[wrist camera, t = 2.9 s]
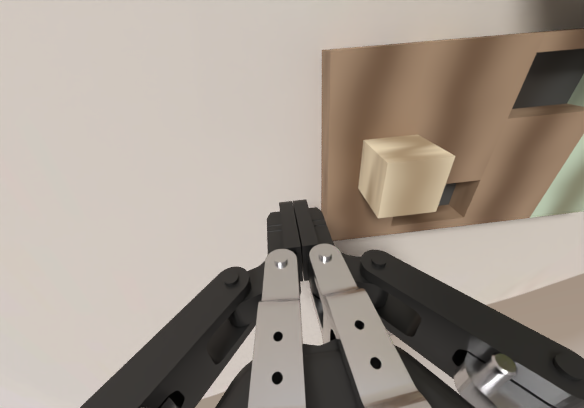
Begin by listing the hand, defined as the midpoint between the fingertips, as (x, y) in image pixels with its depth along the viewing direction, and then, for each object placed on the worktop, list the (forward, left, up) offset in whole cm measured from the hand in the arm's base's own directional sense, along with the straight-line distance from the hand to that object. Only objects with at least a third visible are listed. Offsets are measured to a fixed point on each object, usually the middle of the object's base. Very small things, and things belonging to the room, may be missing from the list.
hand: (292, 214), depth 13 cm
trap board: (-17, 0, -8) cm, 18 cm away
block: (-8, 0, -5) cm, 9 cm away
